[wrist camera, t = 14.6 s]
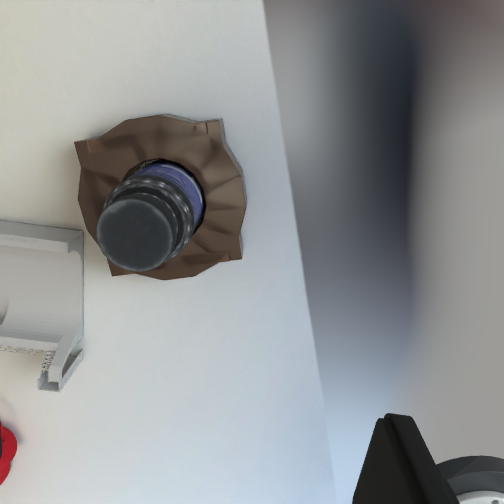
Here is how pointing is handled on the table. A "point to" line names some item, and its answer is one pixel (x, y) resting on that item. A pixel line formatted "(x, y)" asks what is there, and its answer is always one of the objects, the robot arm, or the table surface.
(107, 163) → the ring
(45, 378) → the skate ramp
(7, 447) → the alarm clock
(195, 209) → the pill bottle
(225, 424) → the table surface
